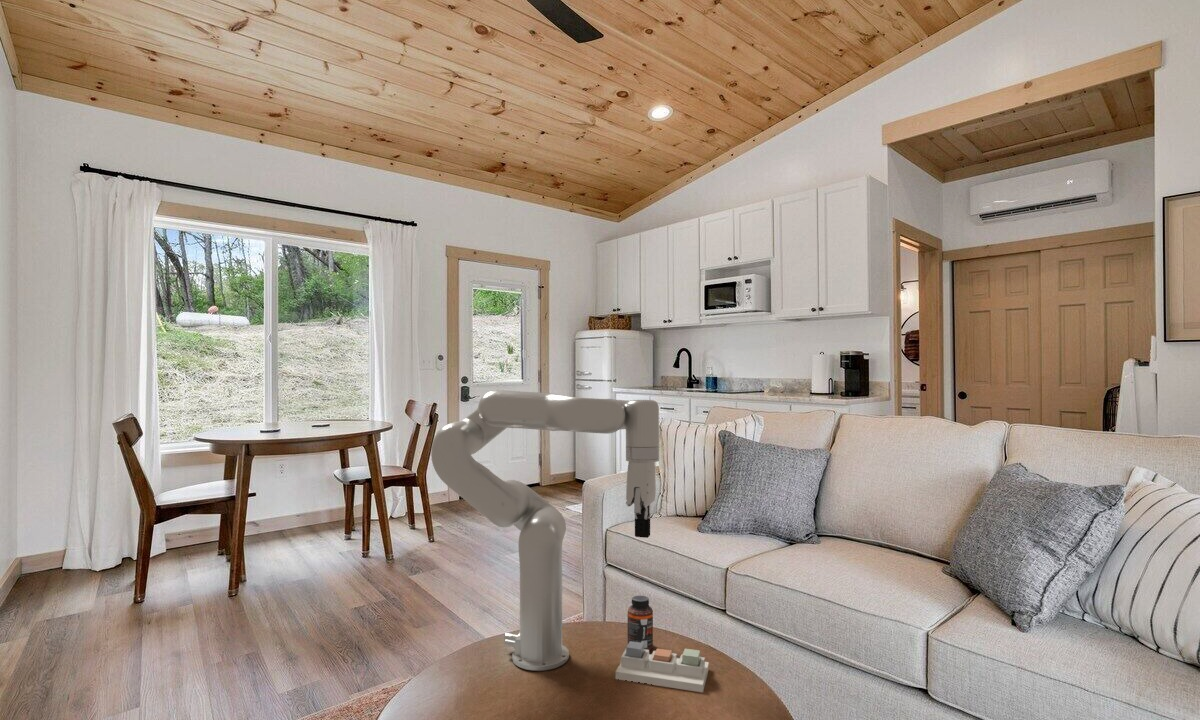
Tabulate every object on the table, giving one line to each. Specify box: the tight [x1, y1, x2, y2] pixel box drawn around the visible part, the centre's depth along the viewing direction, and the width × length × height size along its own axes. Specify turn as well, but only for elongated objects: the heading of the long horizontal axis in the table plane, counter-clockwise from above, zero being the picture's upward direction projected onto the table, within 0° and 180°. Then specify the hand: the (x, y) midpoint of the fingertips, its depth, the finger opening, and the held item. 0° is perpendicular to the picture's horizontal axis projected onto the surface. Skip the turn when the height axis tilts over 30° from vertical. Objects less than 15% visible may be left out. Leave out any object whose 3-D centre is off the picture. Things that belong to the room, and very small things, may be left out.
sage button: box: [682, 648, 701, 666], centre depth 120 cm, size 3×3×2 cm
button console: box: [614, 648, 710, 693], centre depth 122 cm, size 18×10×4 cm, turn 73°
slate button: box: [625, 641, 644, 658], centre depth 123 cm, size 3×3×2 cm
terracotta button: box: [654, 648, 673, 662], centre depth 122 cm, size 3×3×2 cm
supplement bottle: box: [627, 595, 654, 651], centre depth 134 cm, size 6×6×11 cm
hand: (642, 536), depth 129 cm, fingers closed
